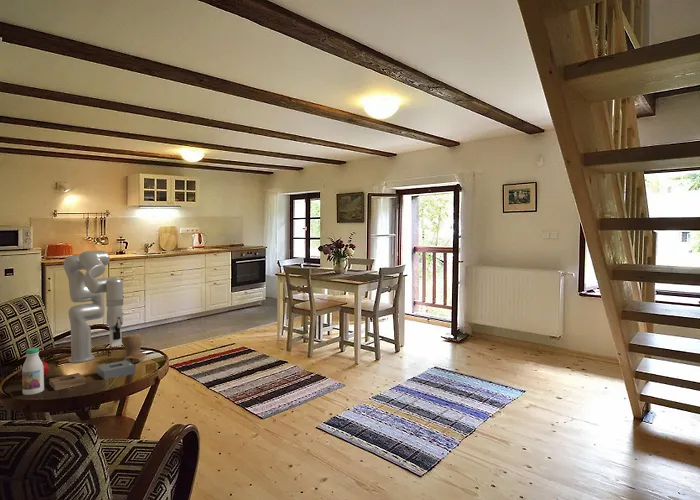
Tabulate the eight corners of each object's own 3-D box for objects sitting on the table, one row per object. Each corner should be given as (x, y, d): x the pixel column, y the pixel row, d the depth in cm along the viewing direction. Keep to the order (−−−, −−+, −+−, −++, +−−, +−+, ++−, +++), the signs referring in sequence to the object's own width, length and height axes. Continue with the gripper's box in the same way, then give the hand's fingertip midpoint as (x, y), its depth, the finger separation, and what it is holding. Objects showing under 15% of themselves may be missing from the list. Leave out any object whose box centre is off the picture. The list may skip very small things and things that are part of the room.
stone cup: (126, 356, 240) (126, 331, 239) (148, 355, 242) (147, 330, 242) (117, 364, 225) (116, 337, 224) (140, 363, 227) (140, 336, 227)
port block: (96, 374, 209) (96, 365, 208) (126, 368, 219) (126, 359, 219) (104, 380, 200) (104, 370, 200) (134, 373, 211) (134, 364, 211)
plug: (109, 345, 208) (109, 325, 208) (119, 344, 212) (119, 323, 211) (111, 346, 206) (111, 326, 206) (121, 345, 210) (121, 324, 209)
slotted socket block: (49, 385, 194) (49, 379, 194) (78, 378, 203) (78, 372, 203) (55, 391, 186) (55, 385, 186) (85, 384, 195) (85, 378, 194)
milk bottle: (30, 389, 188) (29, 346, 188) (48, 389, 189) (47, 346, 188) (18, 396, 181) (17, 351, 180) (36, 395, 181) (35, 351, 181)
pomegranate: (42, 372, 213) (42, 354, 213) (53, 374, 209) (53, 356, 209) (20, 377, 204) (20, 359, 204) (31, 380, 200) (31, 361, 200)
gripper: (101, 302, 211) (102, 337, 212) (112, 305, 200) (113, 342, 201) (117, 300, 217) (118, 335, 217) (128, 303, 206) (129, 340, 206)
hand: (115, 338), depth 209 cm, fingers closed on plug, 3 cm apart
